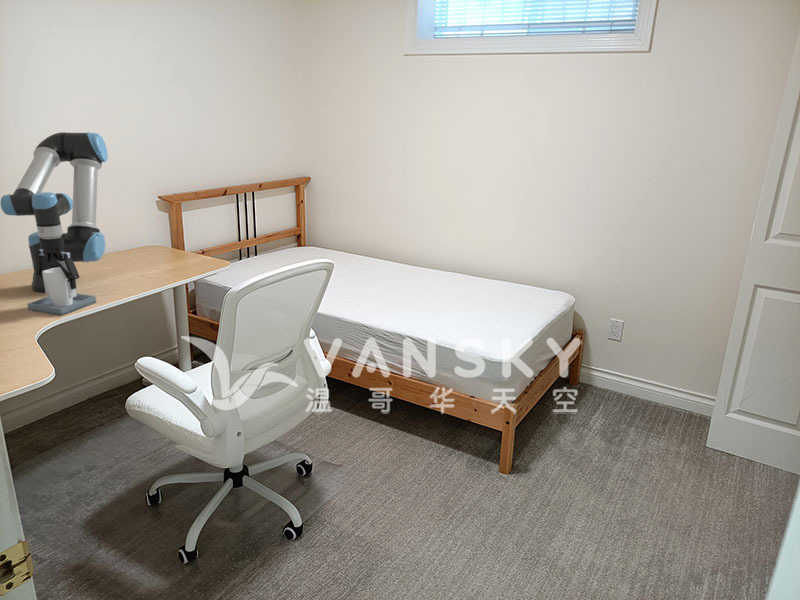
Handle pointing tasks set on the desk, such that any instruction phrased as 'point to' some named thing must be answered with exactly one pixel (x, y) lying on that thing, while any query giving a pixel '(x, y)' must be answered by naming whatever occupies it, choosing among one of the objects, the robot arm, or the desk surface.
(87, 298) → the grey tray
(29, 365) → the desk surface
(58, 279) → the foam cup
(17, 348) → the desk surface
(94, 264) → the desk surface
